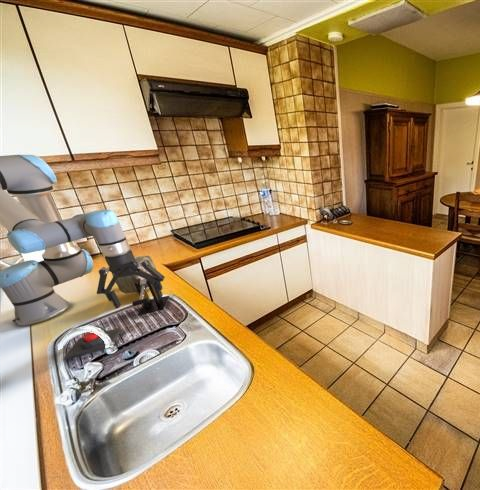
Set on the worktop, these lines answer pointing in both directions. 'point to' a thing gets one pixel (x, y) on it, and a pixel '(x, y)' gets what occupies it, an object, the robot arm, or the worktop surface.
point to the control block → (90, 345)
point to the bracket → (153, 304)
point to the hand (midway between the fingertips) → (140, 301)
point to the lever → (142, 294)
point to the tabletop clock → (132, 277)
